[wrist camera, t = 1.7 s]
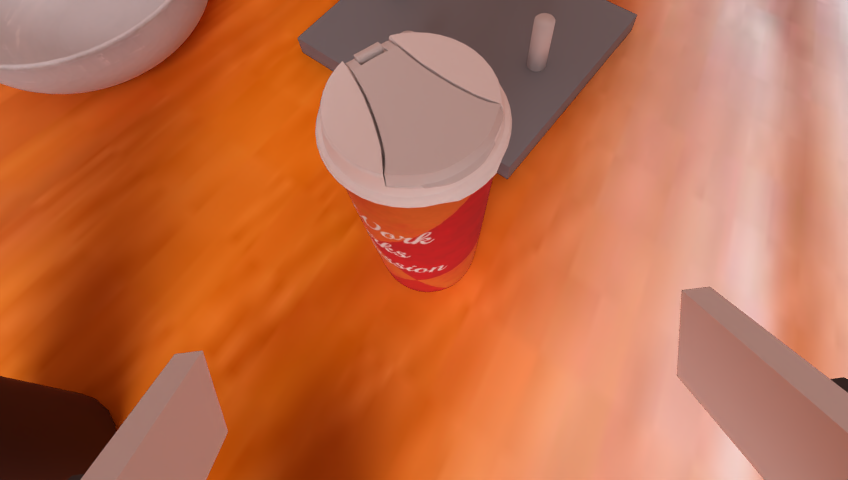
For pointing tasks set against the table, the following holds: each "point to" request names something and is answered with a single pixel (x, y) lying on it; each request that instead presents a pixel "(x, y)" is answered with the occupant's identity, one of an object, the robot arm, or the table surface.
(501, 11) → the plate
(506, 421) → the table surface
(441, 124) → the coffee cup
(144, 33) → the serving bowl
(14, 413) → the bottle
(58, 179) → the table surface
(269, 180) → the table surface
